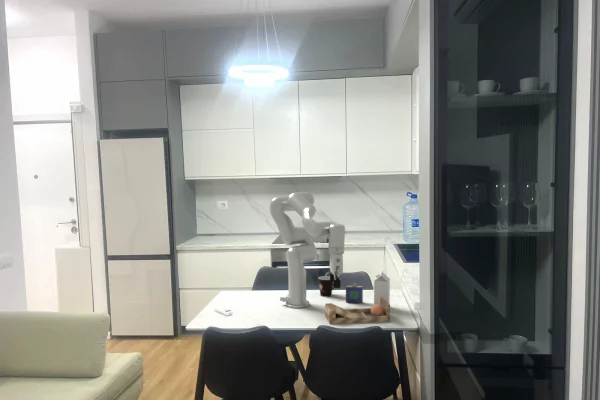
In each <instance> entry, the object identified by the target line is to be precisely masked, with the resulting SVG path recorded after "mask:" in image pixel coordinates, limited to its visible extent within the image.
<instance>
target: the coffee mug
mask: <svg viewBox="0 0 600 400" xmlns="http://www.w3.org/2000/svg"><path fill="white" fill-rule="evenodd" d="M318 285H319V286H318V287H319V295H320V296H321V297H324V298H326V297H331V296H332V295H333V291H334V289H335V288H334V287H333V285H334V282H330V275H328V276H327V275H324V276H323V275H322V276H318Z"/></svg>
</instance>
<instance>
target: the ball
mask: <svg viewBox="0 0 600 400" xmlns="http://www.w3.org/2000/svg"><path fill="white" fill-rule="evenodd" d="M370 308H371V313H372V315H373V316H381V315H382V314H383V308H382V306H380V305H378V304H375V305H374V304H373V305H372V306H371V307H370Z"/></svg>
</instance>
